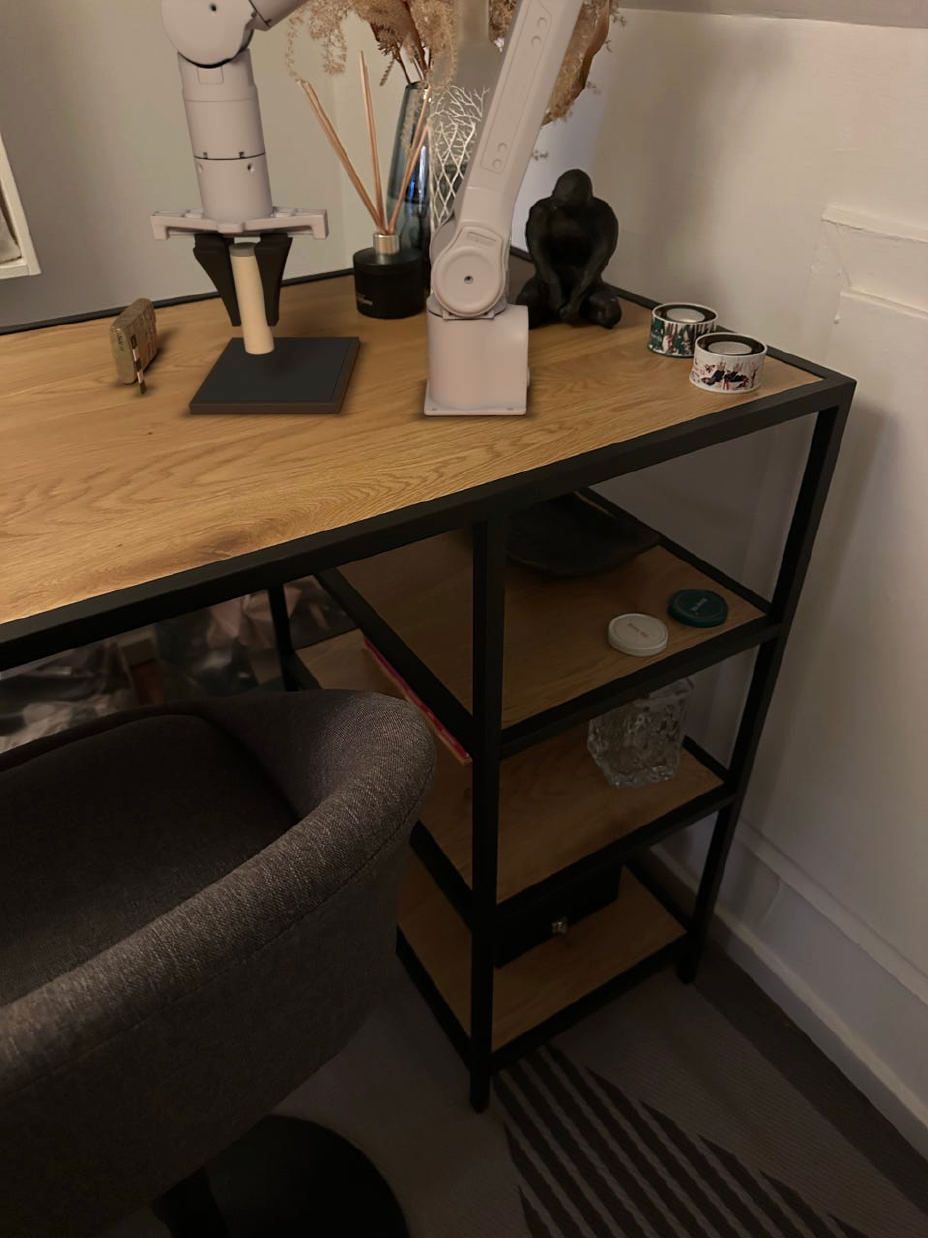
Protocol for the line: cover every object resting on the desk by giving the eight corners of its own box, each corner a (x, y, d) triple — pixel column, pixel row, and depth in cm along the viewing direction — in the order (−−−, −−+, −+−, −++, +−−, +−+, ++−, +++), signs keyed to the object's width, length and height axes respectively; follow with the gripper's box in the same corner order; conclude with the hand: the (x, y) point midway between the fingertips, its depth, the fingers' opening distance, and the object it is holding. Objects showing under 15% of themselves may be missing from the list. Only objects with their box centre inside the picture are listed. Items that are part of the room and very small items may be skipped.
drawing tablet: (359, 345, 96) (359, 335, 95) (339, 413, 81) (337, 402, 81) (233, 345, 96) (231, 336, 95) (190, 414, 82) (188, 403, 81)
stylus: (276, 344, 81) (262, 241, 75) (271, 354, 79) (256, 249, 73) (248, 344, 81) (232, 241, 75) (242, 354, 79) (225, 249, 73)
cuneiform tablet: (131, 336, 82) (166, 297, 92) (90, 335, 82) (130, 295, 92) (143, 394, 86) (175, 351, 95) (104, 393, 86) (140, 350, 95)
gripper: (124, 163, 67) (162, 338, 75) (312, 162, 67) (330, 337, 75) (151, 147, 72) (184, 311, 81) (324, 146, 72) (340, 311, 81)
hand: (255, 322), depth 78 cm, fingers closed on stylus, 2 cm apart
